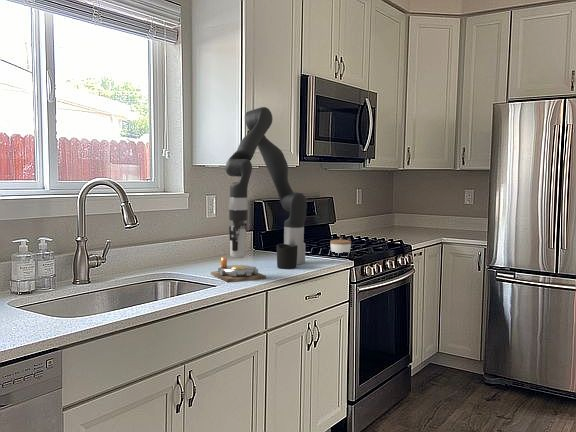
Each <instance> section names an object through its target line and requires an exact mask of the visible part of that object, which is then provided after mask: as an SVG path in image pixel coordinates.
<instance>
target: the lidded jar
mask: <svg viewBox="0 0 576 432" xmlns="http://www.w3.org/2000/svg"><path fill="white" fill-rule="evenodd" d="M329 246H330V251H331V253H332V252H335V253H343V252H349V253H350V251H351V249H352V248H351V247H352V240H348V239H343V237H339V239H332V240H330V245H329Z"/></svg>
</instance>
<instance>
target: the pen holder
mask: <svg viewBox="0 0 576 432" xmlns="http://www.w3.org/2000/svg"><path fill="white" fill-rule="evenodd" d="M297 249H298V245H295V246H290V245H287V244H284V243H279V244H276V265H277V266H276V267H277V269H282V270H283V269H284V270H293V269H296V268H297Z"/></svg>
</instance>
